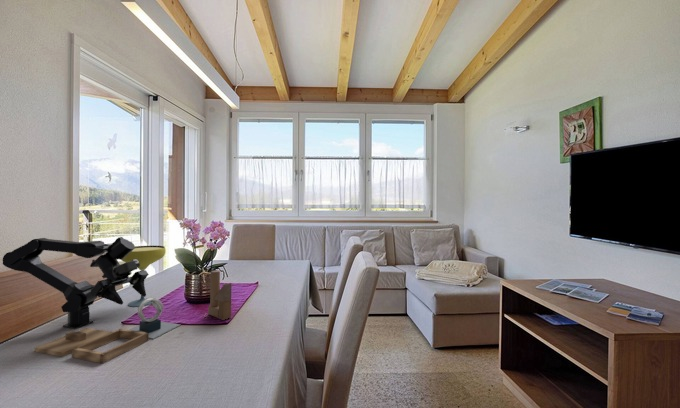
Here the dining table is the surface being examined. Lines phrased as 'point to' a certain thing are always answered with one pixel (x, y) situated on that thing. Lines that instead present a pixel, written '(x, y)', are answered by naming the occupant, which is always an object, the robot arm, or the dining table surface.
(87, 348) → the wooden rectangular frame
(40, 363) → the dining table surface
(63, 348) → the lid
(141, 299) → the cocktail glass
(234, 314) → the dining table surface
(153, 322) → the watch
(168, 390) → the dining table surface
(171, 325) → the felt mat
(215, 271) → the wooden block
